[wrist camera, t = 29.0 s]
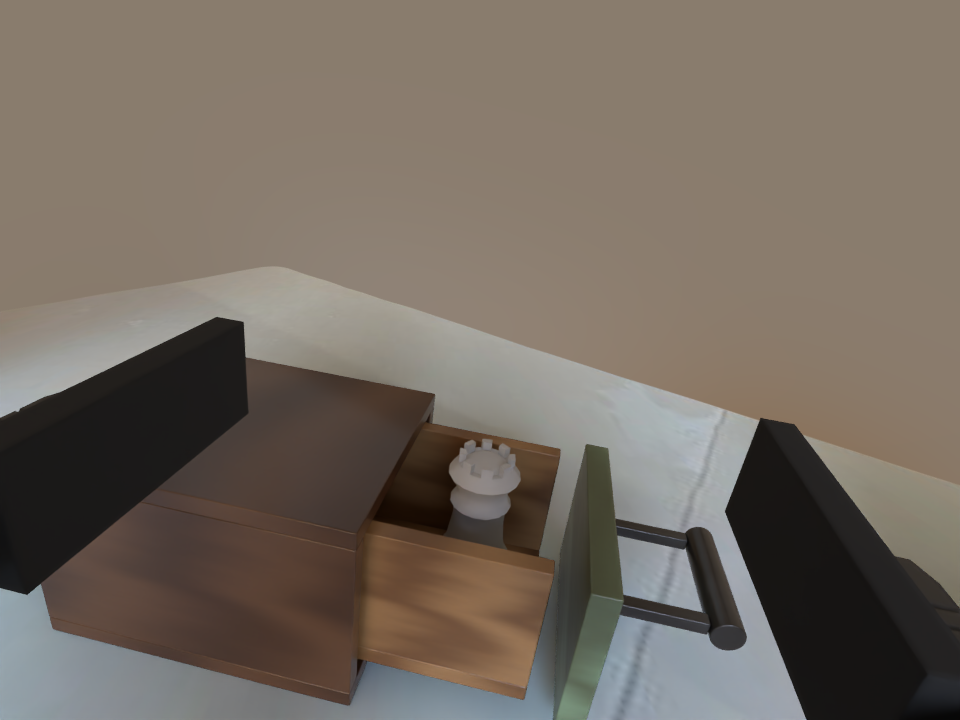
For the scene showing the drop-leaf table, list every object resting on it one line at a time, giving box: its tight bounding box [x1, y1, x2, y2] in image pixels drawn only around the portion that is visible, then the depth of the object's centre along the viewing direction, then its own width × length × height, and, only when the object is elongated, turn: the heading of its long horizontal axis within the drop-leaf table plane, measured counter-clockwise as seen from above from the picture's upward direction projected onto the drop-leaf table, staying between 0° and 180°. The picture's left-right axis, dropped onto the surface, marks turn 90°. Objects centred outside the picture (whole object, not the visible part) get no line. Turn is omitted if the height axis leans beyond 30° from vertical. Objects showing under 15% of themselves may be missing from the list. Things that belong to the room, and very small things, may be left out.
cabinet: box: [41, 358, 435, 706], centre depth 27 cm, size 14×12×9 cm
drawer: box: [357, 422, 747, 720], centre depth 26 cm, size 19×10×8 cm, turn 80°
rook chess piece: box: [443, 439, 521, 550], centre depth 25 cm, size 4×4×8 cm
